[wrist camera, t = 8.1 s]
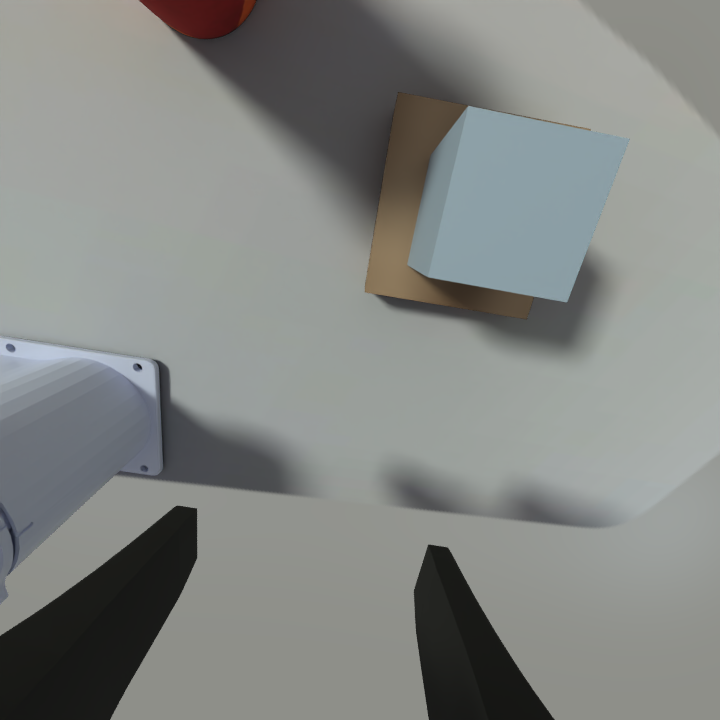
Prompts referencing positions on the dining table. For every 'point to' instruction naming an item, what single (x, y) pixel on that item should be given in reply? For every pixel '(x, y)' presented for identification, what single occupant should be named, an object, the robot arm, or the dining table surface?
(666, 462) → the dining table surface
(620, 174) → the dining table surface
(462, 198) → the block
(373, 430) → the dining table surface
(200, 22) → the paper cup
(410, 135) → the base
